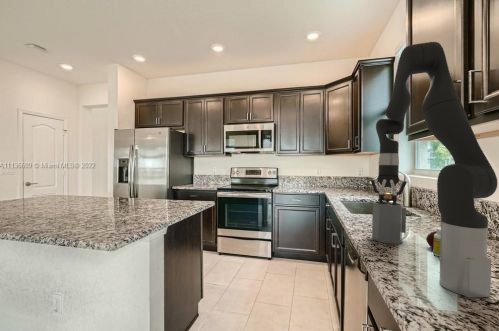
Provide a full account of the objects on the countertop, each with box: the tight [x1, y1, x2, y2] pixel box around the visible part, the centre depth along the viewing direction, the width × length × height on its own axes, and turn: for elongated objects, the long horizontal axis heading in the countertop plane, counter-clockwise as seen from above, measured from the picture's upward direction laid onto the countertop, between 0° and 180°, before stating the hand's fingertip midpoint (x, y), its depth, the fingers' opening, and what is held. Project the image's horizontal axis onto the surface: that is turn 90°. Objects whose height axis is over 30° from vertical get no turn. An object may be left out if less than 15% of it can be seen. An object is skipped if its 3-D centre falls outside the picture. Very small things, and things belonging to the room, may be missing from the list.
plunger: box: [382, 192, 393, 205], centre depth 104 cm, size 8×8×18 cm
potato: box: [426, 230, 437, 249], centre depth 94 cm, size 7×8×7 cm
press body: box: [371, 200, 407, 245], centre depth 104 cm, size 11×14×16 cm
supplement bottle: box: [432, 227, 441, 258], centre depth 87 cm, size 5×5×10 cm
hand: (387, 203), depth 104 cm, fingers closed on plunger, 4 cm apart
